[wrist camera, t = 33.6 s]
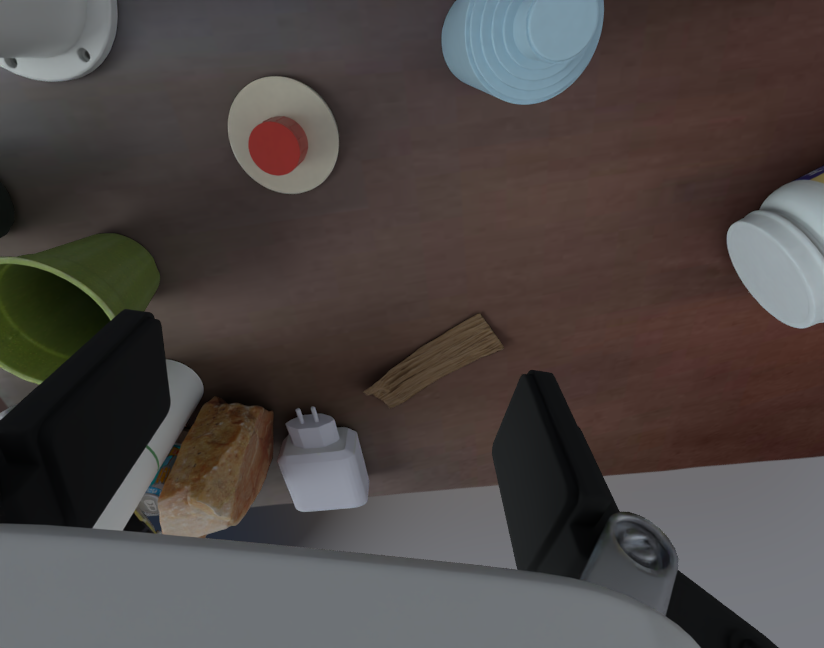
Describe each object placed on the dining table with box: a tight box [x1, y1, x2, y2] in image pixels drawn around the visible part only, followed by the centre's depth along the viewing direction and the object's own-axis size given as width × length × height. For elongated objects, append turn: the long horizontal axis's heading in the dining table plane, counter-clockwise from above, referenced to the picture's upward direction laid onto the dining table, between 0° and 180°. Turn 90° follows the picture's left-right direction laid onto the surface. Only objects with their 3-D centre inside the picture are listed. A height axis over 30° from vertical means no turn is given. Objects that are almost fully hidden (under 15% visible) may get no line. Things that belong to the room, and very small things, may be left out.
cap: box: [248, 116, 308, 176], centre depth 35 cm, size 4×4×3 cm
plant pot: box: [0, 233, 160, 385], centre depth 38 cm, size 12×12×11 cm
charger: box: [277, 407, 369, 512], centre depth 53 cm, size 5×9×15 cm
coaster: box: [228, 76, 340, 194], centre depth 36 cm, size 9×9×1 cm
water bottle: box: [441, 0, 604, 105], centre depth 25 cm, size 6×6×20 cm
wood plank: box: [363, 313, 504, 408], centre depth 48 cm, size 15×2×5 cm
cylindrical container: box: [93, 359, 204, 531], centre depth 39 cm, size 7×7×25 cm
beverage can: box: [138, 428, 190, 514], centre depth 53 cm, size 12×12×8 cm
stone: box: [158, 397, 274, 538], centre depth 47 cm, size 14×9×15 cm, turn 156°
